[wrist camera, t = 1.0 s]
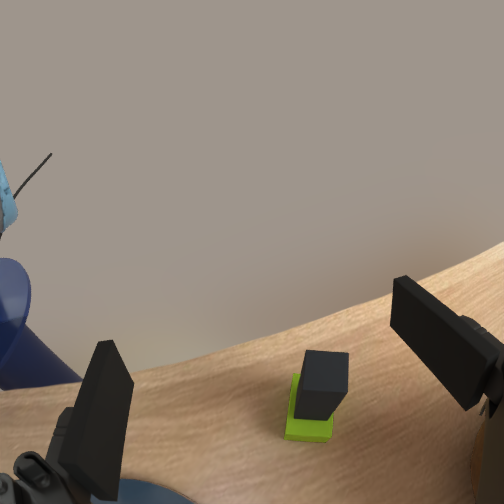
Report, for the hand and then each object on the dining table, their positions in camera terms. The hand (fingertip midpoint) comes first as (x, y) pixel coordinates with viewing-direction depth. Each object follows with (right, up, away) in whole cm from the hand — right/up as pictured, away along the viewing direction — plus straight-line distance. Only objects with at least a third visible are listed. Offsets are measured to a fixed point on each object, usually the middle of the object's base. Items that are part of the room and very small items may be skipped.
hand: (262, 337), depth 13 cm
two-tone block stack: (+5, -12, +14) cm, 19 cm away
